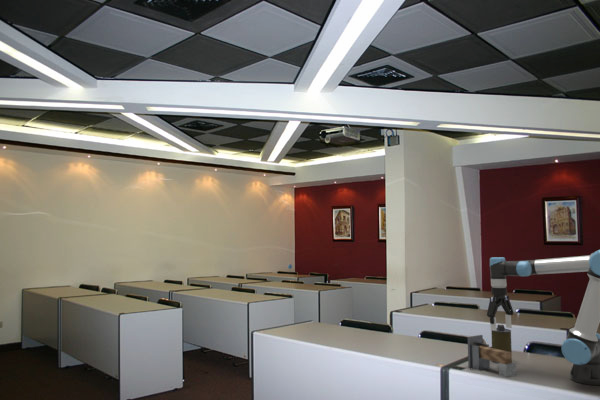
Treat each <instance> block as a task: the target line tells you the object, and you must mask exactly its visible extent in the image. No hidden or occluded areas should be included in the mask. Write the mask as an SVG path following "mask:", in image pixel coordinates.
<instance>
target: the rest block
mask: <svg viewBox="0 0 600 400" xmlns="http://www.w3.org/2000/svg"><path fill="white" fill-rule="evenodd" d="M516 367H517V366H516V362H514V361H512V363H508V364H504V363H498V376H500V377H504V378H509V377H513V375H514V376H517V368H516Z"/></svg>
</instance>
